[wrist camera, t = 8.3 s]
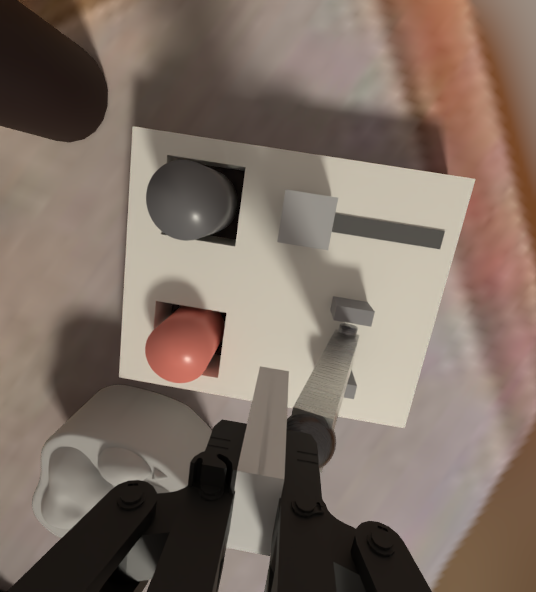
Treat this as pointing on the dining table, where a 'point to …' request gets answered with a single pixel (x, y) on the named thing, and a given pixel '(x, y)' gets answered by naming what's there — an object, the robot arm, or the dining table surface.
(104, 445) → the lumpy-topped squat cylinder
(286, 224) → the slider knob
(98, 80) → the bottle
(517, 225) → the dining table surface
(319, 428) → the lever
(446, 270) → the panel
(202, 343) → the button red
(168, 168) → the button black
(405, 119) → the dining table surface
